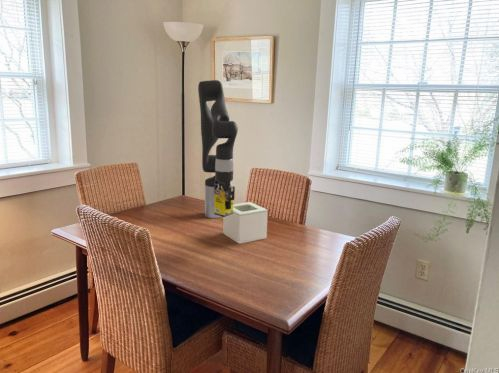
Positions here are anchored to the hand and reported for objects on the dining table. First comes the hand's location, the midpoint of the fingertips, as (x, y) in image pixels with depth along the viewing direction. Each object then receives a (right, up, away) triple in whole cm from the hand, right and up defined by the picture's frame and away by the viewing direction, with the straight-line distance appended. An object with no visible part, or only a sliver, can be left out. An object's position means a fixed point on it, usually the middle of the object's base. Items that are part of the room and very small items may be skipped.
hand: (223, 206), depth 176 cm
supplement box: (0, -4, +1) cm, 4 cm away
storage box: (+9, -15, +19) cm, 26 cm away
